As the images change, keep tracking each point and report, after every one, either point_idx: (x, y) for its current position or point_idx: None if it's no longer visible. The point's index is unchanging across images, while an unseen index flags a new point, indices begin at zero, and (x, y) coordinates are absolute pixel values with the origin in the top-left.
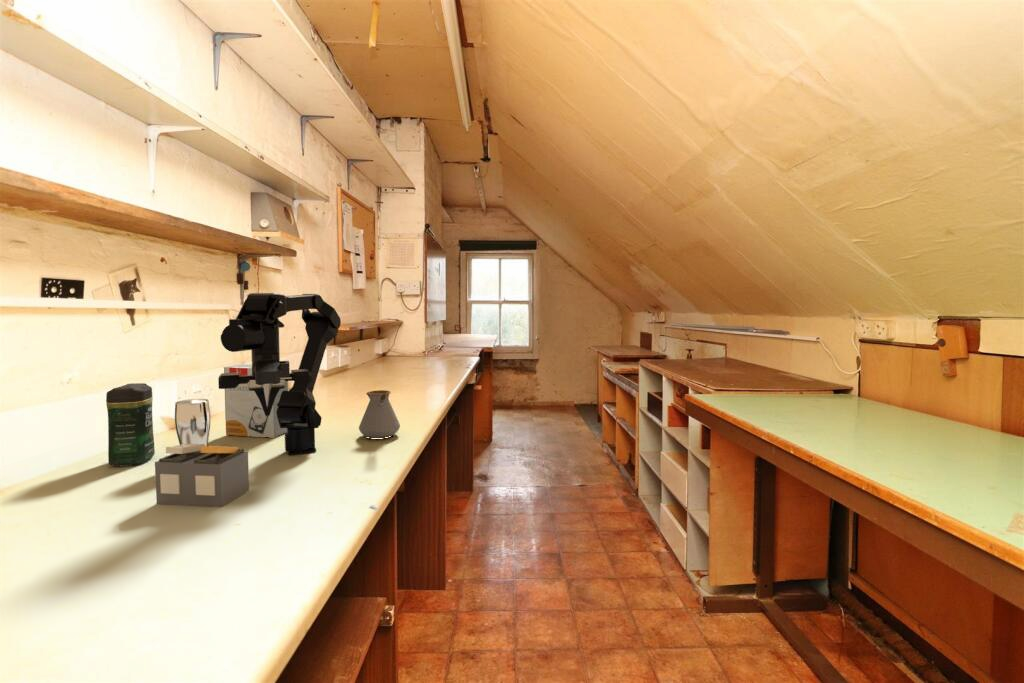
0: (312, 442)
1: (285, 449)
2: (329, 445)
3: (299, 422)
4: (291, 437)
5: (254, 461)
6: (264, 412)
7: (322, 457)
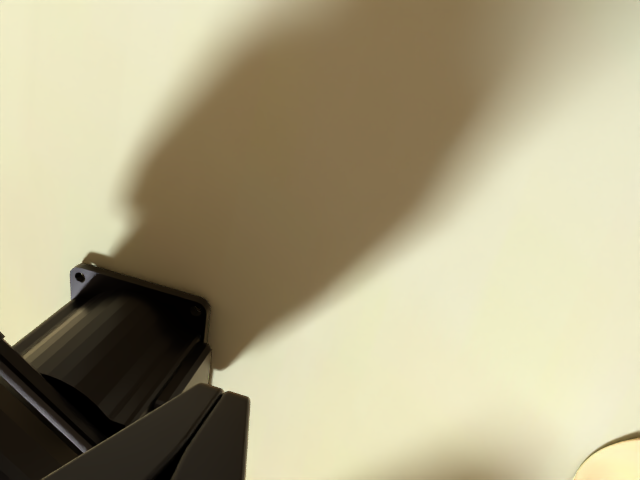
0: (61, 318)
1: (209, 365)
2: (11, 321)
3: (14, 390)
4: (143, 381)
5: (387, 332)
6: (245, 434)
7: (60, 142)
